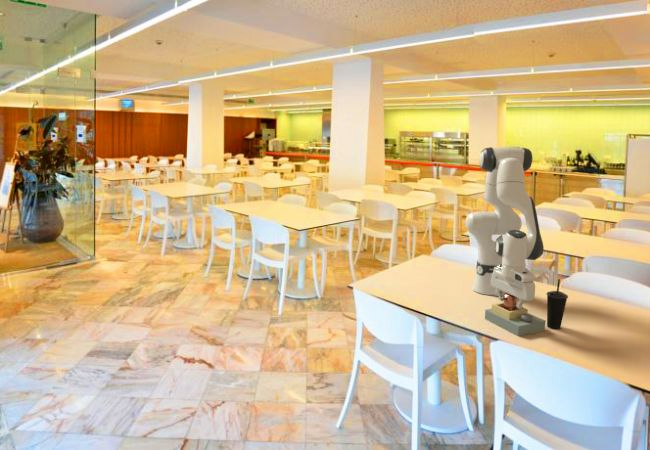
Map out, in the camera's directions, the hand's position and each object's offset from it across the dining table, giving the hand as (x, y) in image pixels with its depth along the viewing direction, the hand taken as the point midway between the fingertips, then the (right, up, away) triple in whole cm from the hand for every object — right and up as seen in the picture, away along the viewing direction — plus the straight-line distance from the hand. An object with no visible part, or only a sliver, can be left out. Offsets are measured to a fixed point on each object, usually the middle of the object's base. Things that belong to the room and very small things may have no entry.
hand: (510, 304), depth 193 cm
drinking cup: (+17, -9, -2) cm, 19 cm away
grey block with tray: (+2, -8, 0) cm, 8 cm away
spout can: (0, -4, +1) cm, 4 cm away
